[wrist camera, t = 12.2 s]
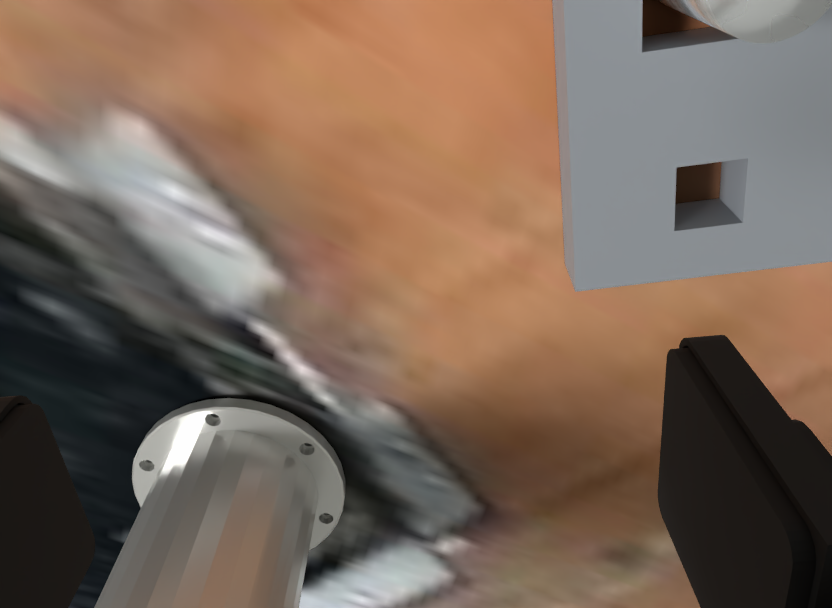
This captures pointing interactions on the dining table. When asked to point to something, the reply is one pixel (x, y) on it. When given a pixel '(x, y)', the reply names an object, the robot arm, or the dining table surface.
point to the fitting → (754, 16)
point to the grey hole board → (689, 147)
